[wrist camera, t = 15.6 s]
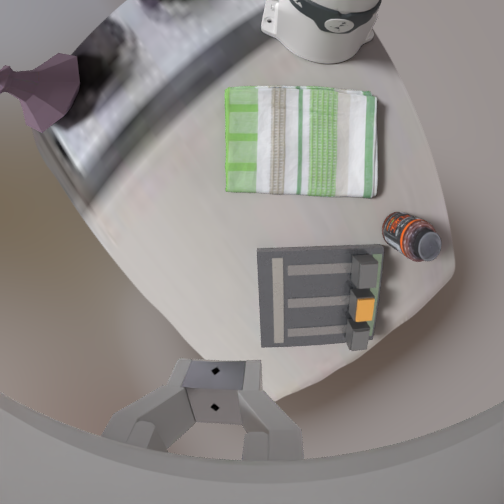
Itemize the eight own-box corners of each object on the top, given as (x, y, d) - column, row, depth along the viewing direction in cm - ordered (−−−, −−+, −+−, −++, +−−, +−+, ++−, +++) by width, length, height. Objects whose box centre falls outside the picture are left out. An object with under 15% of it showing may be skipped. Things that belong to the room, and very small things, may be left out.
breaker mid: (350, 288, 42) (357, 299, 38) (367, 287, 41) (376, 298, 38) (348, 311, 43) (354, 323, 39) (365, 309, 43) (372, 321, 39)
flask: (74, 44, 34) (11, 14, 14) (107, 84, 36) (32, 53, 17) (28, 104, 37) (-39, 97, 18) (54, 151, 40) (-24, 152, 21)
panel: (257, 248, 43) (256, 252, 41) (379, 244, 42) (384, 247, 40) (261, 341, 48) (261, 348, 46) (369, 333, 46) (372, 340, 44)
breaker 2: (347, 319, 43) (353, 331, 39) (363, 317, 43) (371, 329, 39) (345, 338, 44) (350, 352, 40) (361, 337, 44) (367, 350, 40)
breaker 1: (352, 255, 40) (360, 263, 36) (370, 254, 40) (379, 262, 36) (350, 280, 41) (358, 290, 37) (368, 278, 41) (377, 288, 37)
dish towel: (372, 198, 40) (381, 201, 37) (226, 195, 42) (223, 196, 38) (371, 95, 36) (379, 90, 32) (226, 88, 37) (222, 81, 34)
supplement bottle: (394, 203, 40) (430, 214, 29) (416, 225, 40) (454, 241, 30) (373, 232, 41) (404, 251, 30) (397, 253, 42) (430, 276, 31)
